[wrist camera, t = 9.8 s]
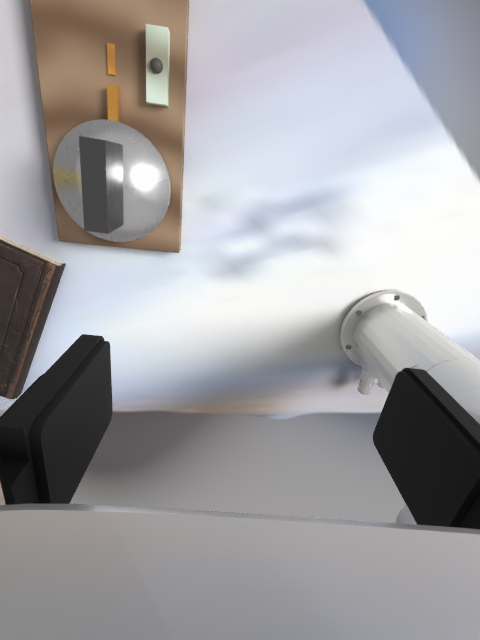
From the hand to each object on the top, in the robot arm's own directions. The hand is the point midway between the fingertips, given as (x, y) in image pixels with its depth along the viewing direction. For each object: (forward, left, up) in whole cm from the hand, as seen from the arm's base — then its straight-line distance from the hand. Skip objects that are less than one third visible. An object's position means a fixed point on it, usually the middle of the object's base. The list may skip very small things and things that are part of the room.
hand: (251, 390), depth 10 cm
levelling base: (+9, +13, -33) cm, 36 cm away
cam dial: (+5, +13, -31) cm, 34 cm away
